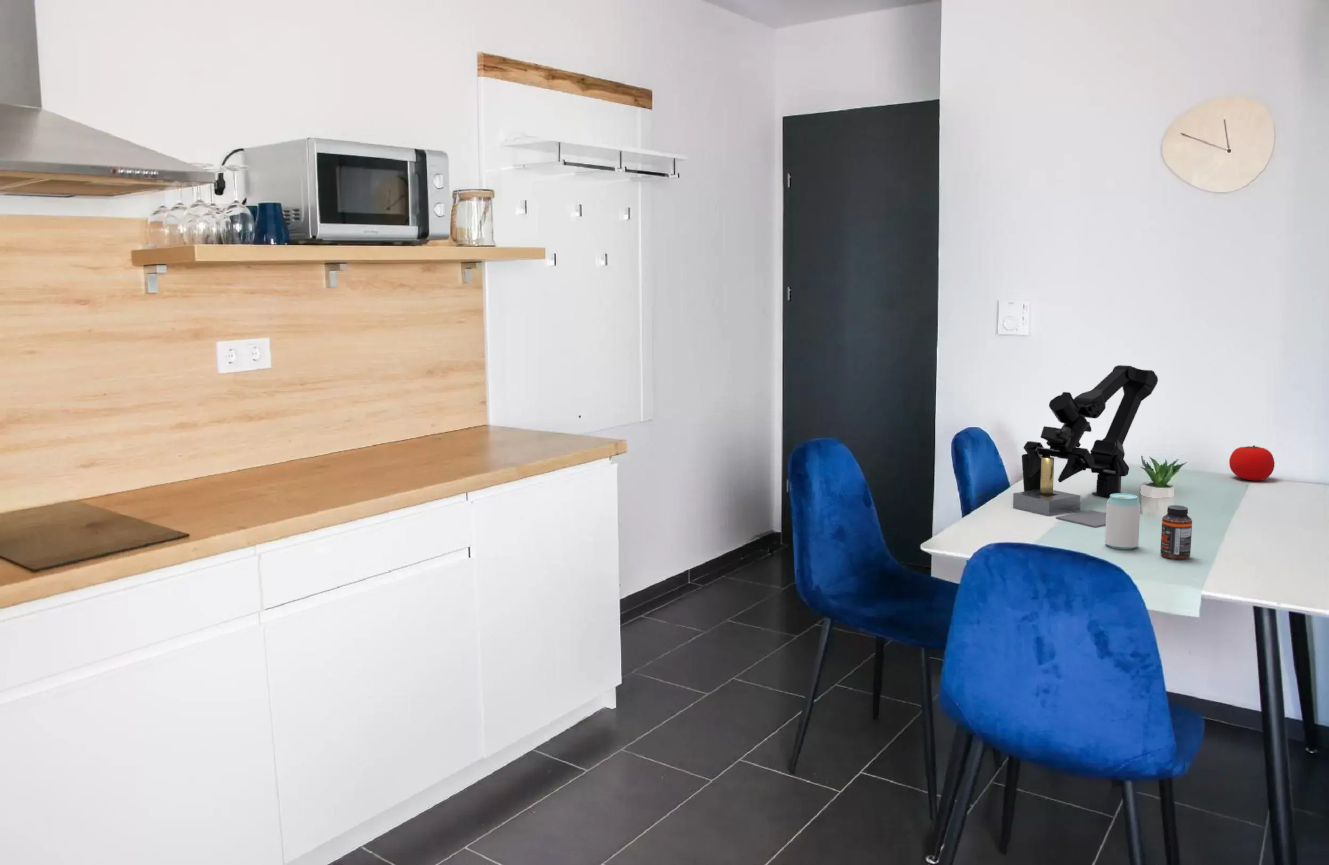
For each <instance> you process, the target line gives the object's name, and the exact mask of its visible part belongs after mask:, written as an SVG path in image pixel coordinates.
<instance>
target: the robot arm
mask: <svg viewBox="0 0 1329 865" xmlns="http://www.w3.org/2000/svg"><path fill="white" fill-rule="evenodd" d="M1158 382H1159V379H1158V375H1157V374H1156V372H1155V371H1153V369H1152V370H1150V369H1141V368H1137V367H1134V366H1132V365H1123V364H1122V365H1121V364H1120V365H1119V364H1118V365H1116V366H1114V367H1113V369H1112V371H1111V372H1110V373H1109V374H1107V375H1106V376H1105V377H1104V378H1103V379H1102V380H1100V382H1098V384H1097V385H1096V386H1094V388H1092V389H1091V390H1088V391H1085V392H1082V393H1079V394H1078V395H1077V396H1075V397H1074V398H1073V396H1072V394H1071V392H1070V391H1069V392H1067V391H1063V392H1062V393H1061V394H1060V395H1057V396H1055V397H1054V398H1053V399H1052V398H1051V399H1050V401H1049V403H1048V407H1049V409H1050V411H1051V412H1052V413H1053V415H1054V416H1055V418H1056V419H1057V421H1058V422H1059V423H1061V424H1063V425H1062V426H1061V428H1059V427H1053V426H1045V425H1044V426H1043V428H1042V431H1041V433H1040V439H1044V440H1045V441H1046V443H1045V444H1046V445H1047V447H1044V446H1043V444H1042V443H1041V442H1039V441H1033V440H1032V441H1031V440H1030V441H1026V443H1025V444H1024V446H1023V450H1024V451H1025V452H1026V454H1028V455H1029V457H1030V465H1029V472H1028V476H1029V477H1032V476H1033V475H1034V474H1035V473H1036V472H1037V471H1038V469H1039V468H1040V467H1041V458H1042V457H1047V456H1050V457H1053V458H1059V459H1064V460H1067V461H1066V463H1065V465H1064V466H1063V469H1062V470H1061V472H1060V474H1059V476H1058V479H1057V481H1058V483H1063V482H1064V481H1065V480H1067V479H1069V478H1071V477H1073V476H1074V475H1076V474H1078V473H1080V472H1082V471H1086V470H1087V469H1088V470H1090V471H1091V472H1090V473H1094V474H1097V479H1096V488H1095V490H1096V491H1094V492H1093V491H1092V492H1091V495H1094V496H1095V495H1096V496H1100V497H1104V498H1108V499H1109V498H1110V495H1111V494H1116V493H1122V477H1126V476H1128V475H1129V471H1130V467H1129V465H1128V464H1127V462H1126V461H1125V455H1126V454H1125V449H1124V442H1125V440H1126V437H1127V435H1128V434H1129V431H1130V428H1131V427H1132V424H1133V421H1135V420H1134V419H1135V417H1136V415H1137V412H1138V410H1139V407H1140V406H1141V404H1142V401H1143V400H1145V399H1146V398H1148V397H1149V396H1150V395H1152V393H1153V392H1154V390H1155V388H1156V386H1157V384H1158ZM1121 388H1122V392H1123V396H1122V398H1121V401H1120V403H1119V405H1118V407H1117V410H1116V412H1115V415H1114V417H1113V419H1112V421H1111V423H1110V425H1109V428H1108V430H1107V432H1106V434H1105V437H1104V438H1102V439H1096V440H1094V443H1093V445H1092V448H1091V449H1090V451H1089V449H1088V448H1084V447H1081V445H1082V444H1081V442H1080V440H1081V439H1082V437H1083V436H1084V434H1085V433H1086V432H1087V433H1091V432H1092V427H1091V422H1090V421H1088V420H1087V418H1088V419H1098V418H1099V417H1100V416H1101V415H1102V413H1103V412H1104V411H1105V409H1106V407H1107V406H1106V405H1107V404H1106V403H1107V402H1108V400H1110V398H1112V397H1113V396H1114V395H1115V394H1117V392H1118V391H1119V390H1121ZM1124 494H1126V493H1124Z"/></svg>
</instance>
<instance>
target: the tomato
mask: <svg viewBox="0 0 1329 865" xmlns="http://www.w3.org/2000/svg"><path fill="white" fill-rule="evenodd" d="M1228 464H1229V468H1230V470H1231V472H1232V474H1234V475H1235V476H1237V477H1238V478H1241V479H1243V480H1246V481H1247V480H1248V481H1253V482H1256V481H1264V480H1266V479H1268V478H1269V477H1270V476H1271V475H1272V473H1273V472H1274V469H1275V464H1276V463H1275V458H1274V455H1273V454H1272V451H1270V450H1269V449H1267V448H1265V447H1260V446H1256V445H1251V446H1249V445H1247V446H1240V447H1237V448H1236V449H1234V450H1233V451H1232V452H1231V454H1230V457H1229V460H1228Z"/></svg>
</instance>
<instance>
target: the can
mask: <svg viewBox="0 0 1329 865" xmlns="http://www.w3.org/2000/svg"><path fill="white" fill-rule="evenodd" d="M1105 513H1106V526H1105V532H1104V533H1105V536H1104V537H1105V540H1104V543H1105V545H1107V546H1108V547H1109V548H1112V549H1116V550H1134V549H1135V548H1137V547H1138V546H1139V545H1140V543H1139V541H1140V540H1139V539H1140V522H1141V503H1140V500H1138V496H1137V495H1136V494H1131V493H1125V494H1124V493H1123V492H1121V493H1116V494H1111V495H1110V498H1109V497H1108V499H1107V501H1106V510H1105Z"/></svg>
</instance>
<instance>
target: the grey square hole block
mask: <svg viewBox="0 0 1329 865" xmlns="http://www.w3.org/2000/svg"><path fill="white" fill-rule="evenodd" d="M1012 500H1013V501H1012V508H1013V509H1017V510H1022V511H1027V512H1031V513H1035V514H1040V515H1043V516H1048V517H1049V516H1050V517H1051V516H1055V515H1061V514H1066V513H1071V512H1076V511H1081V494H1080V495H1079V494H1075V493H1071V492H1067V491H1066V492H1065V491H1060V490H1056V489H1053V496H1049V497H1047V496H1042V495H1040V489H1036V490H1030V491H1024V490H1023V491H1019V492H1013V499H1012Z"/></svg>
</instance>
